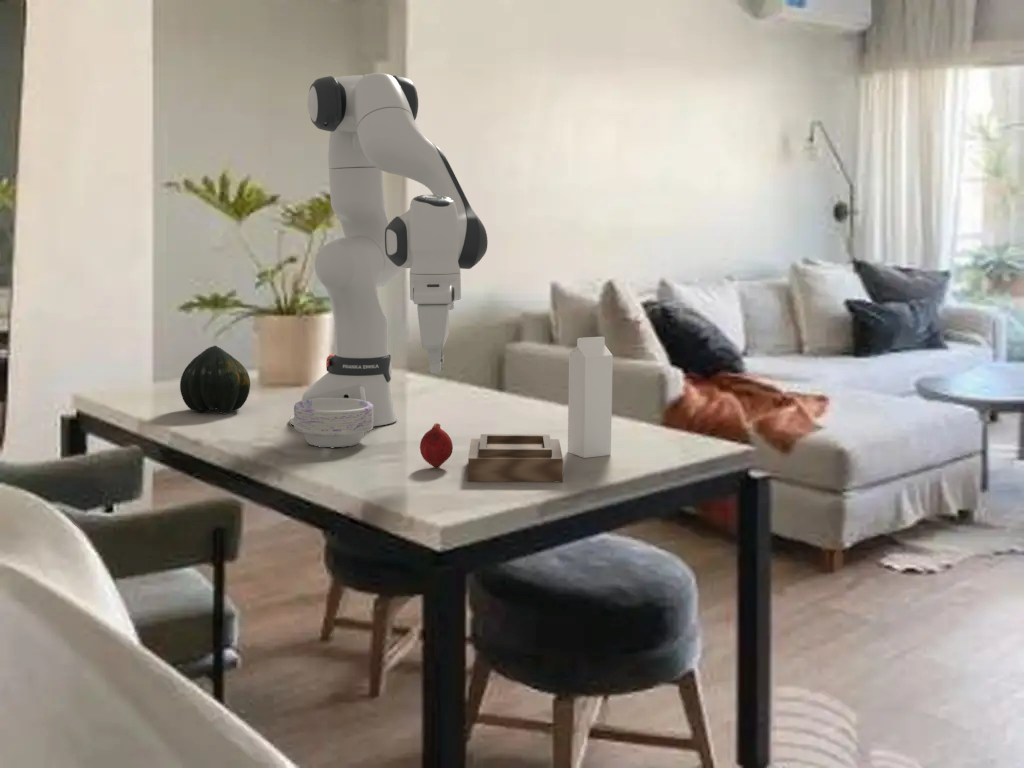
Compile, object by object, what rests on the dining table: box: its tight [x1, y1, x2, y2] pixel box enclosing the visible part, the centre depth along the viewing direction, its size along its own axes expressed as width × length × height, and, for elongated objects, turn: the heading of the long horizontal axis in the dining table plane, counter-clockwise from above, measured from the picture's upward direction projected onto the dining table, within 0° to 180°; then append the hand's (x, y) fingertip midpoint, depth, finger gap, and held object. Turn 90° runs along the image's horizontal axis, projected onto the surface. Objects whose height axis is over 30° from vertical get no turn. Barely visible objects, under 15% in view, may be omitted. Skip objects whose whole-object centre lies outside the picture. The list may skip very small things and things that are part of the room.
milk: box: [567, 336, 614, 459], centre depth 222 cm, size 6×6×22 cm
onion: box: [419, 422, 454, 469], centre depth 211 cm, size 6×6×8 cm
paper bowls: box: [293, 398, 374, 448], centre depth 230 cm, size 15×15×8 cm
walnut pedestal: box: [467, 433, 564, 483], centre depth 209 cm, size 16×16×5 cm
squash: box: [179, 345, 251, 414], centre depth 263 cm, size 14×15×15 cm
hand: (436, 368), depth 208 cm, fingers open, 8 cm apart
